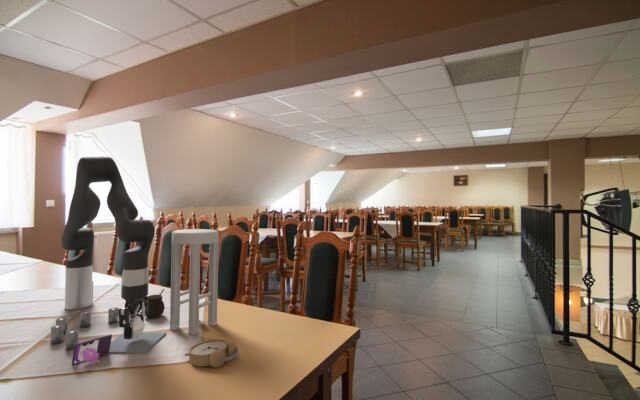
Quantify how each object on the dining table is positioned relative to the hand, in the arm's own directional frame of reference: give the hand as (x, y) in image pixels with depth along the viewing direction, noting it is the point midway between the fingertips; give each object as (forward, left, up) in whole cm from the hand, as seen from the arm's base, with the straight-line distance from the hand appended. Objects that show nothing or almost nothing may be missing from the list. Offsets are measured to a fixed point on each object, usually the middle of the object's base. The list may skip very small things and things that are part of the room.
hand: (134, 333), depth 104 cm
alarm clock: (+10, +29, -3) cm, 31 cm away
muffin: (0, 0, -1) cm, 1 cm away
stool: (-14, +14, -3) cm, 20 cm away
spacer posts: (-7, -19, -3) cm, 20 cm away
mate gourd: (-24, -5, -3) cm, 25 cm away
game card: (+12, -5, -3) cm, 13 cm away
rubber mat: (0, 0, -3) cm, 3 cm away
